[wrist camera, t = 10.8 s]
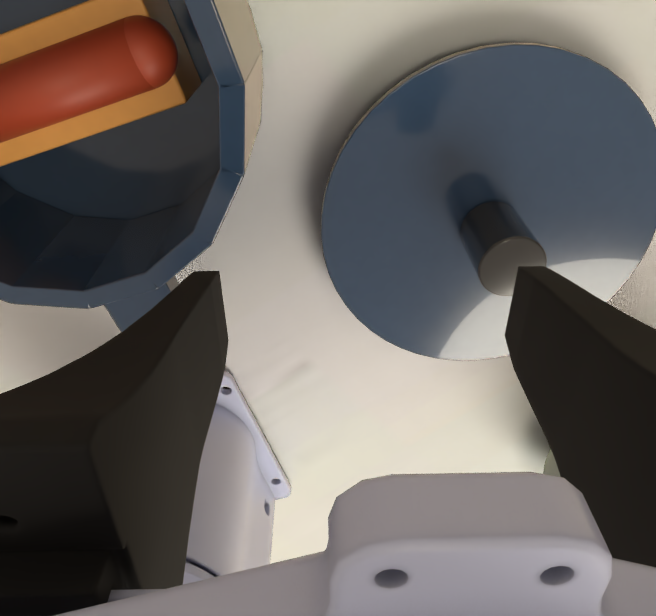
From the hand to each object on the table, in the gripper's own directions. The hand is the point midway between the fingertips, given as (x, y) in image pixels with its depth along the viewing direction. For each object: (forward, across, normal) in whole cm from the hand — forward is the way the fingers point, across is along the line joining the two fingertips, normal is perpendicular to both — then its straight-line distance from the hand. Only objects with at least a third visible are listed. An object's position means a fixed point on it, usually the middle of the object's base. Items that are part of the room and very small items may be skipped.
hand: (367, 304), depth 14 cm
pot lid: (+9, -6, +2) cm, 11 cm away
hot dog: (+9, +9, -4) cm, 14 cm away
